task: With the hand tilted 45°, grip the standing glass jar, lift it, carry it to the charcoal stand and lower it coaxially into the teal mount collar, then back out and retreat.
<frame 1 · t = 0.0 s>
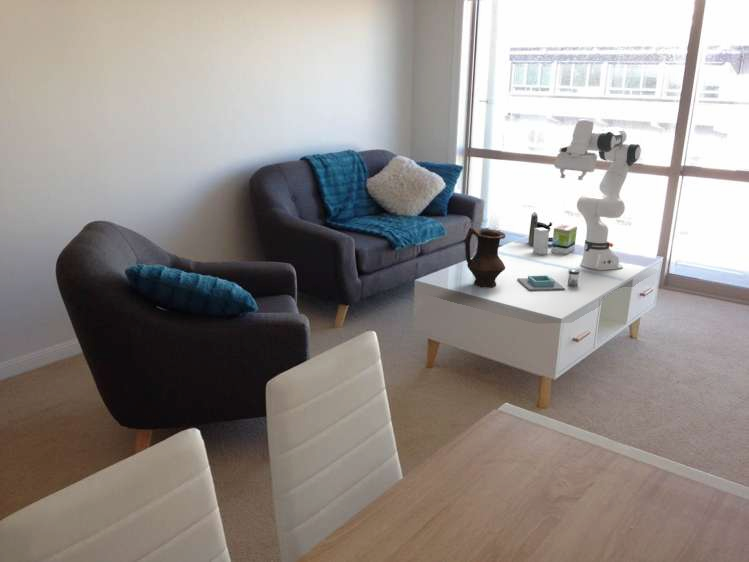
hand: (571, 179, 324), 52 cm above the table, fingers open, 8 cm apart
glass jar: (572, 285, 329), on the table
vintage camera: (540, 245, 412), on the table
skincare box: (539, 253, 392), on the table
jug: (482, 285, 329), on the table
tea box: (562, 251, 398), on the table
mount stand: (540, 285, 329), on the table
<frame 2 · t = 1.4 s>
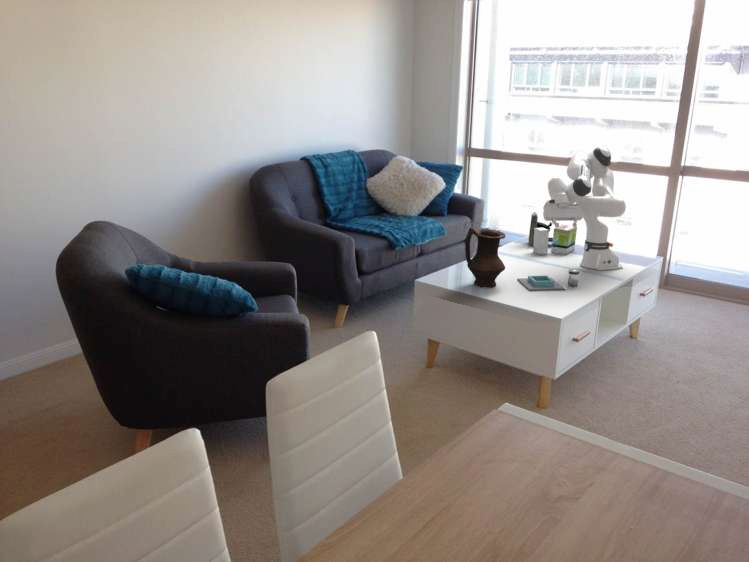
hand: (566, 226, 335), 27 cm above the table, fingers open, 8 cm apart
nothing on the table moved.
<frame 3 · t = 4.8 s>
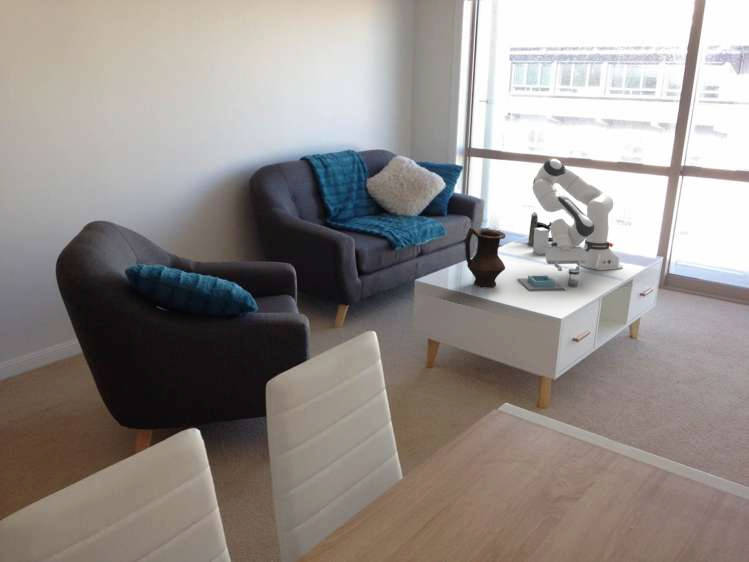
hand: (569, 270, 328), 8 cm above the table, fingers open, 8 cm apart
glass jar: (572, 285, 329), on the table, touching gripper
everything else where it was.
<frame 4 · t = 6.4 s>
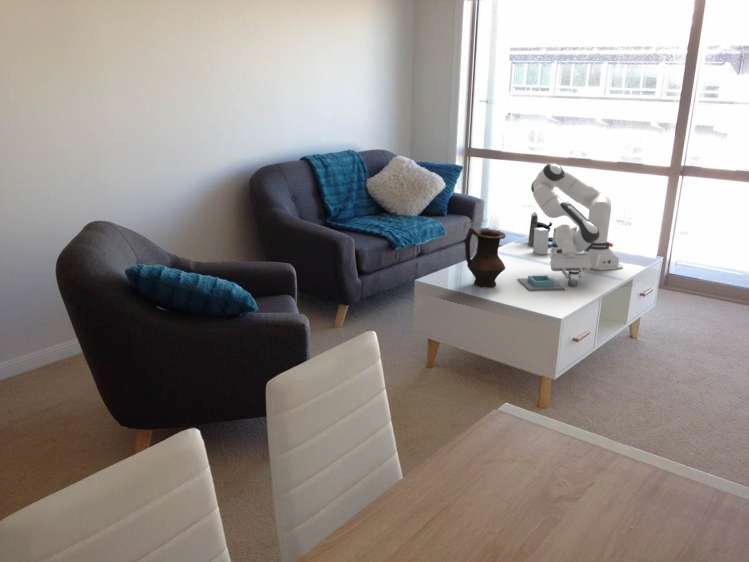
hand: (573, 277, 327), 4 cm above the table, fingers closed on glass jar, 5 cm apart
glass jar: (572, 285, 329), on the table, touching gripper
everything else where it was.
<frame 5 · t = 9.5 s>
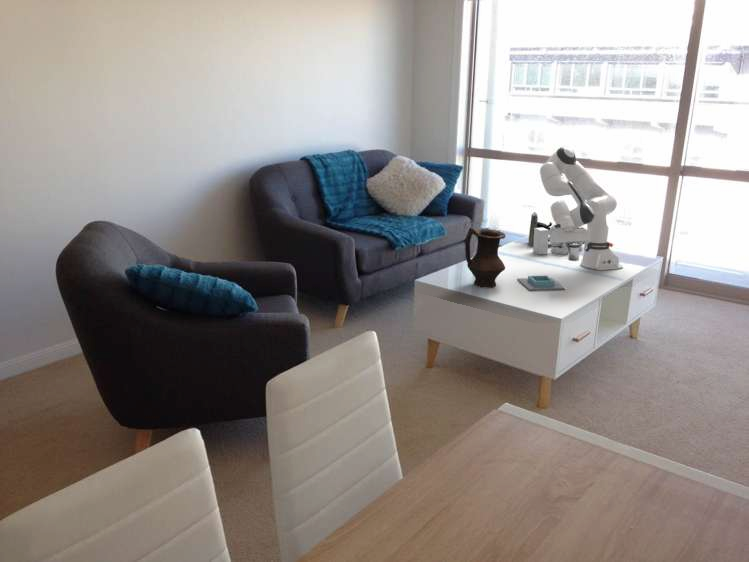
hand: (574, 251, 321), 18 cm above the table, fingers closed on glass jar, 5 cm apart
glass jar: (573, 259, 323), point 14 cm above the table, touching gripper
everything else where it was.
when the fingers open (7 cm above the table, at t = 13.1 s): glass jar drops 2 cm, resting on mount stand.
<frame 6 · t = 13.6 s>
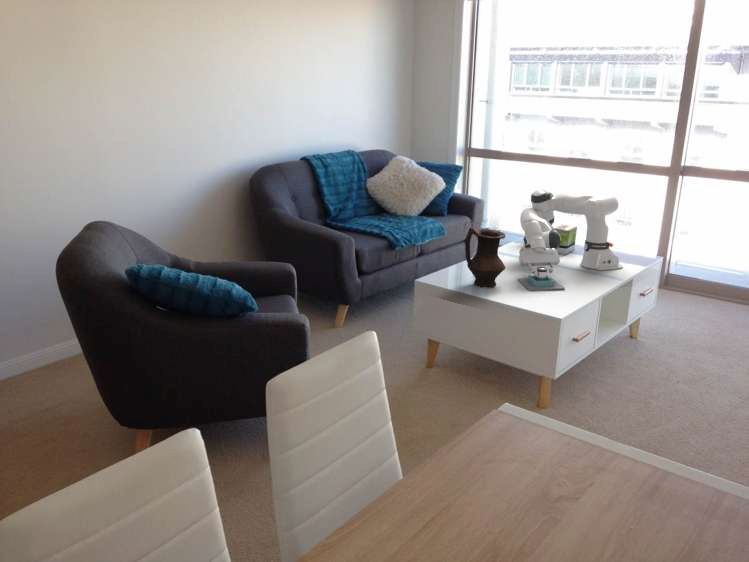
hand: (542, 272, 327), 7 cm above the table, fingers open, 8 cm apart
glass jar: (540, 283, 329), point 1 cm above the table, touching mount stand
everything else where it was.
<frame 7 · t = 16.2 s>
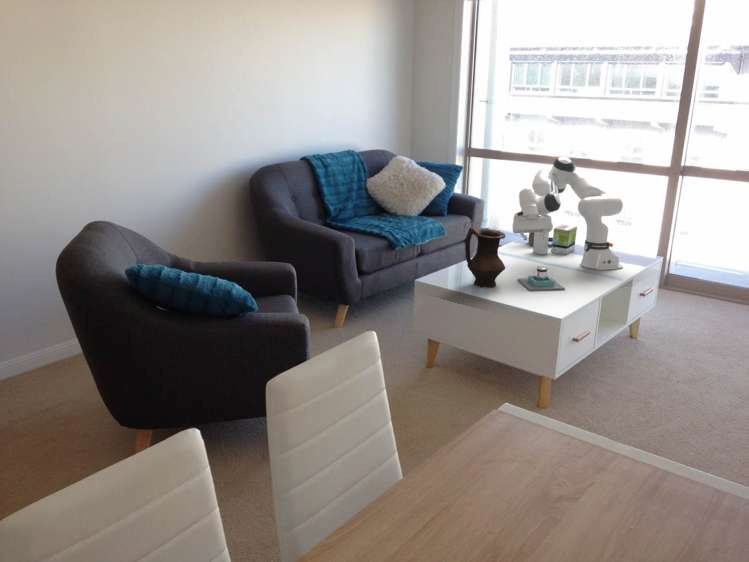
hand: (534, 239, 334), 21 cm above the table, fingers open, 8 cm apart
nothing on the table moved.
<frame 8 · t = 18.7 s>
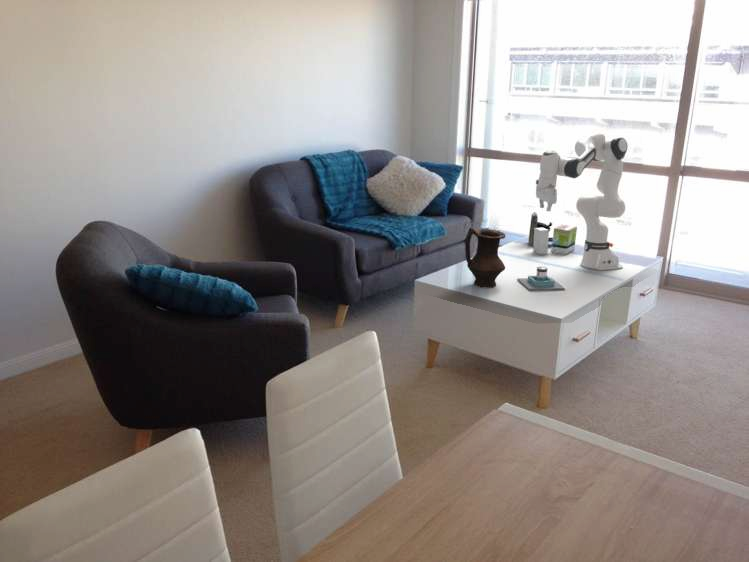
hand: (545, 209, 342), 34 cm above the table, fingers open, 8 cm apart
nothing on the table moved.
at the end: glass jar 0.1 cm off-centre on the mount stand, point 1.0 cm above the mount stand's base; glass jar tilted 0°; the gripper is holding nothing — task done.
